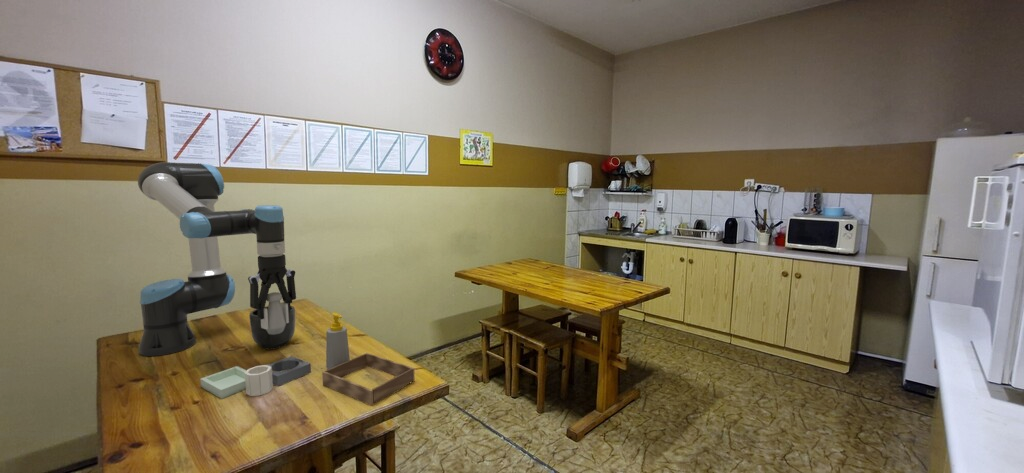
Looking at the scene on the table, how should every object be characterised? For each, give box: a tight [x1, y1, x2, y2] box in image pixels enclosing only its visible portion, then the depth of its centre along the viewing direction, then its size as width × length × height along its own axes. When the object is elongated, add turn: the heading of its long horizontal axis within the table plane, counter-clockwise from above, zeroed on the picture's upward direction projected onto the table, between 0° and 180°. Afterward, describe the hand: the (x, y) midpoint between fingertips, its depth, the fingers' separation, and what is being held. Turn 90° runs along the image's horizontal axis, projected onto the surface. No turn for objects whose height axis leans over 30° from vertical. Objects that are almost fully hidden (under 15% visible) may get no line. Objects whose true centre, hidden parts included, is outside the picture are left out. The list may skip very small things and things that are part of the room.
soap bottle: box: [325, 312, 351, 370], centre depth 125 cm, size 7×7×18 cm
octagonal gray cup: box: [245, 364, 274, 397], centre depth 112 cm, size 6×6×6 cm
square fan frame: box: [267, 355, 312, 387], centre depth 121 cm, size 10×10×3 cm
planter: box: [249, 304, 296, 350], centre depth 143 cm, size 14×14×13 cm
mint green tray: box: [199, 365, 248, 400], centre depth 115 cm, size 12×10×2 cm
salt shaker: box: [266, 292, 286, 335], centre depth 129 cm, size 6×6×13 cm
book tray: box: [321, 352, 416, 407], centre depth 117 cm, size 21×16×4 cm
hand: (275, 325), depth 129 cm, fingers closed on salt shaker, 6 cm apart
